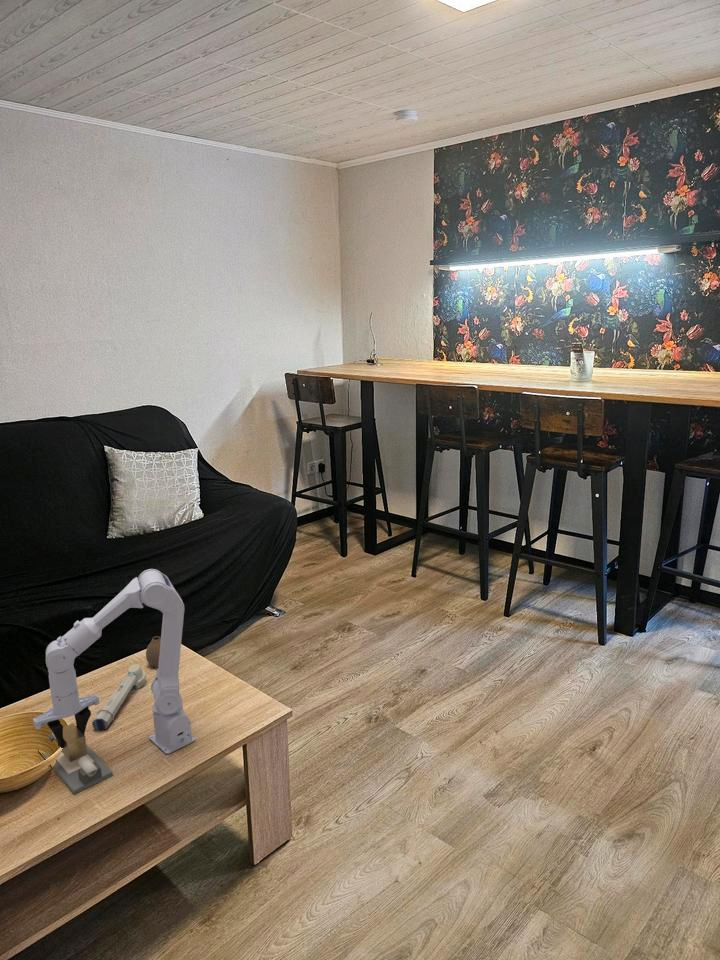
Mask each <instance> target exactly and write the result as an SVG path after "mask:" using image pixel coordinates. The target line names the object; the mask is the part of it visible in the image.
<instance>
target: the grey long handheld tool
mask: <svg viewBox="0 0 720 960" xmlns="http://www.w3.org/2000/svg"><path fill="white" fill-rule="evenodd" d="M146 677H147V674H146V671H145V670H143V669H142V666H141V665H140V664H139V663H134V664H132V665H130V666H129V667H128V669H127V675H126V676H125V677H124V679H122V681H121V683H120V684H119V685H118V686H117V688H116V689H115V691H114V692H113V693H112V694H111V696H110V697H109V698H108V700H107V701H106V702H105V704H104V705H103V707H102V708H100V709H99V710H98V711H97V712H96V716H95V718H94V719H93V720H92V722H91V725H92V728H93V729H94V730H95V731H103V730H104V731H105V730H107V728H108V727H109V725H110V724H111V723H112V722H113V721H114V720H115V716H116V714H117V712H118V711H119V709H120V707H121V705H122V704H123V703H124V701H125V699H126V698H127V696H128V695H129V693H130V691H131V690H138V689H140V688H141V687H144V686H145V685H146Z"/></svg>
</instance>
